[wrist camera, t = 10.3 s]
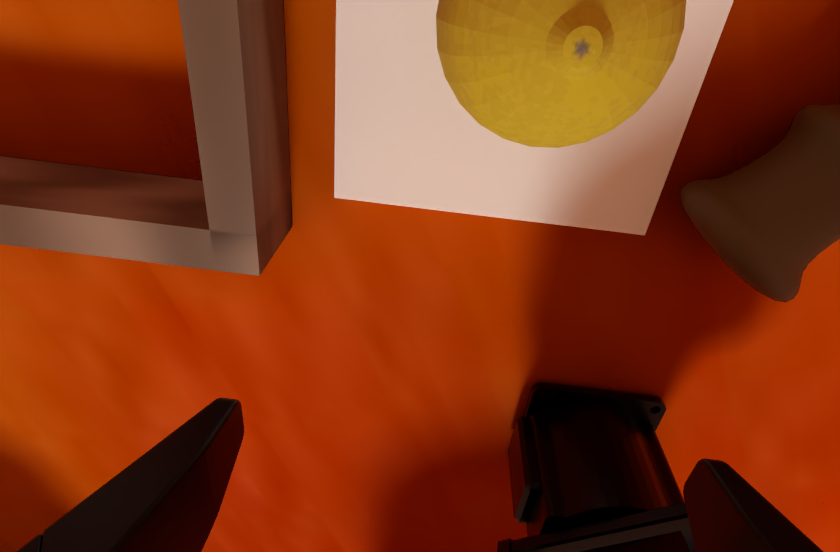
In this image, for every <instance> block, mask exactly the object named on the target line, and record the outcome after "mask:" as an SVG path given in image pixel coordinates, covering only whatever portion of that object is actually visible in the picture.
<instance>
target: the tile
mask: <svg viewBox="0 0 840 552" xmlns="http://www.w3.org/2000/svg"><path fill="white" fill-rule="evenodd" d="M733 1H734V0H686V11H685V23H684V30H683V33H682V36H681V39H680V42H679V45H678V48H677V51H676V55H675V58H674V60H673V62H672V64H671V66H670V67H669V69H668V71H667V73H666V74H665V76H664V78H663V80H662V81H661V83H660V85H659V87H658V88H657V90H656V91H655V92H654V93H653V94H652V95H651V96H650V98H649V99H648V100H647V101H646V102H645V103H644V104H643V105H642V107H641V108H640V109H639V110H638V111H637V112H636V113H635V114H633V115H632V116H631V117H629V118H628V119H627V120H625V121H624V122H623V123H621V124H620V125H619V126H617V127H616V128H615V129H613V130H612V131H609V132H607V133H605V134H603V135H601V136H598V137H596V138H594V139H592V140H590V141H588V142H585V143H580V144H575V145H570V146H565V147H561V148H550V147H529V146H526V145H523V144H519V143H516V142H512V141H509V140H506V139H503V138H501V137H500V136H498V135H496V134H495V133H493V132H491V131H490V130H488V129H486V128H485V127H483V126H481V125H480V124H479V123H478V122H477V121H476V120H475V119H474V118H473V117H472V116H471V115H470V114H469V113H468V112H467V111H466V110H465V109H464V108H463V107H462V106H461V104H460V103H459V102H458V100H457V98H456V96H455V94H454V93H453V91H452V89H451V87H450V85H449V84H448V82H447V80H446V78H445V76H444V72H443V68H442V65H441V61H440V57H439V54H438V50H437V32H436V12H437V7H438V2H439V0H336V72H335V174H334V198H341V199H350V200H358V201H366V202H374V203H382V204H391V205H399V206H407V207H415V208H424V209H432V210H440V211H448V212H457V213H465V214H473V215H481V216H489V217H498V218H506V219H514V220H522V221H531V222H539V223H547V224H555V225H563V226H572V227H580V228H588V229H596V230H605V231H613V232H621V233H629V234H638V235H645V234H646V231H647V228H648V226H649V223H650V221H651V218H652V215H653V213H654V210H655V207H656V205H657V202H658V199H659V197H660V194H661V191H662V189H663V186H664V184H665V181H666V178H667V176H668V173H669V170H670V168H671V165H672V162H673V160H674V157H675V154H676V152H677V149H678V147H679V144H680V141H681V139H682V136H683V133H684V131H685V128H686V125H687V123H688V120H689V117H690V115H691V112H692V110H693V107H694V104H695V102H696V99H697V96H698V94H699V91H700V88H701V86H702V83H703V80H704V78H705V75H706V73H707V70H708V67H709V65H710V62H711V59H712V57H713V54H714V51H715V49H716V46H717V44H718V41H719V38H720V36H721V33H722V30H723V28H724V25H725V22H726V20H727V17H728V14H729V12H730V9H731V7H732V4H733Z"/></svg>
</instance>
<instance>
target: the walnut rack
mask: <svg viewBox="0 0 840 552" xmlns="http://www.w3.org/2000/svg"><path fill="white" fill-rule="evenodd" d="M178 4H179V11H180V18H181V26H182V33H183V40H184V48H185V55H186V62H187V69H188V77H189V84H190V91H191V99H192V106H193V113H194V121H195V128H196V135H197V142H198V150H199V157H200V164H201V172H202V179H203V181H201V180H193V179H185V178H177V177H169V176H160V175H152V174H144V173H136V172H127V171H119V170H111V169H103V168H95V167H86V166H78V165H70V164H62V163H53V162H45V161H37V160H29V159H20V158H12V157H4V156H0V244H5V245H14V246H22V247H30V248H38V249H46V250H54V251H62V252H70V253H79V254H87V255H95V256H103V257H111V258H119V259H127V260H136V261H144V262H152V263H160V264H168V265H176V266H184V267H192V268H201V269H209V270H217V271H225V272H233V273H241V274H249V275H257V276H260V274H261V273H262V271H263V270H264V268H265V267H266V265H267V264H268V262H269V261H270V259H271V258H272V256H273V255H274V253H275V252H276V250H277V249H278V247H279V246H280V244H281V243H282V241H283V240H284V238H285V237H286V235H287V234H288V232H289V231H290V229H291V228H292V210H291V184H290V159H289V134H288V108H287V83H286V57H285V32H284V6H283V0H178Z"/></svg>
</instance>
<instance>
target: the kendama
mask: <svg viewBox="0 0 840 552" xmlns="http://www.w3.org/2000/svg"><path fill="white" fill-rule="evenodd" d="M680 198H681V201H682V204H683V208H684V210H685V212H686V213H687V215H688V216H689V218H690V220H691V221H692V223H693V224H694V226H695V227H696V229H697V230H698V232H699V233H700V235H701V236H702V237H703V238H704V239H705V241H706V242H707V243H708V244H709V245H710V246H711V248H712V249H713V250H714V251H715V252H716V253H717V254H718V255H719V257H720V258H721V259H722V260H723V261H724V262H725V263H726V264H727V265H728V266H729V267H730V268H731V269H732V270H733V271H734V272H735V273H736V274H737V275H738V276H739V277H741V278H742V279H743V280H744V281H745V282H746V283H748V284H749V285H750V286H752V287H753V288H754V289H755V290H757V291H759V292H760V293H762V294H763V295H765V296H767V297H769V298H771V299H773V300H775V301H781V302H787V301H789V300H792V299H794V297H795V296H796V294H797V293H798V291H799V287H800V282H801V277H802V274H803V271H804V270H805V268H806V267H807V265H808V264H809V263H810V262H811V261H812V260H813V259H814V258H815V257H816V256H817V255H818V254H819V253H820V252H822V251H823V250H824V249H826V248H827V247H828V246H830V245H831V244H832V243H834V242H835V241H837V240H838V239H840V103H839V104H835V105H818V104H810V105H806V106H805V107H804V108H802V109H801V110H799V111H798V112H797V113H796V114H795V116H794V118H793V120H792V123H791V126H790V129H789V131H788V132H787V134H786V136H785V137H784V138H783V139H782V140H781V141H780V142H779V143H778V144H777V145H776V146H775V147H773V148H772V149H771V150H769V151H768V152H767V153H765V154H764V155H762V156H761V157H759V158H757V159H756V160H754V161H753V162H751V163H749V164H748V165H746V166H744V167H742V168H740V169H739V170H737V171H735V172H732V173H730V174H728V175H726V176H723V177H720V178H716V179H708V180H694V181H691V182H688V183H686V184H685V185H684V186H683V187H682V190H681V196H680Z"/></svg>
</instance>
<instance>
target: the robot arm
mask: <svg viewBox="0 0 840 552" xmlns="http://www.w3.org/2000/svg"><path fill="white" fill-rule="evenodd" d="M541 392H545V393H543V394H539V393H541ZM654 406H656V407H654ZM665 411H666V407H665V405H664V402H663V400H662V399H661V398H659V397H656V396H648V395H640V394H632V393H624V392H615V391H607V390H599V389H591V388H583V387H575V386H567V385H559V384H551V383H537V384H535V385H534V386H533V387H532V389H531V392H530V396H529V399H528V402H527V406H526V409H525V412H524V416H520V417H519V418H518V419H517V420H516V424H515V427H514V430H513V434H512V437H511V441H510V444H509V448H508V459H509V469H510V479H511V490H512V500H513V510H514V517H515V519H516V520H517V521H518V522H519V523H526V525H527V533H528V537H526V538H521V539H517V540H511V539H506V540H502V541H499V542H498V550H497V552H823V551H822V550H821V549H820V548H819V547H818V546H817V545H815V544H814V543H813V542H812V541H811V540H810V539H809V538H808V537H807V536H806V535H805V534H803V533H802V532H801V531H800V530H799V529H798V528H797V527H796V526H795V525H794V524H793V523H791V522H790V521H789V520H788V519H787V518H786V517H785V516H784V515H783V514H782V513H781V512H779V511H778V510H777V509H776V508H775V507H774V506H773V505H772V504H771V503H770V502H769V501H767V500H766V499H765V498H764V497H763V496H762V495H761V494H760V493H759V492H758V491H757V490H755V489H754V488H753V487H752V486H751V485H750V484H749V483H748V482H747V481H746V480H745V479H743V478H742V477H741V476H740V475H739V474H738V473H737V472H736V471H735V470H734V469H732V468H731V467H730V466H729V465H728V464H727V463H725V462H723V461H719V460H712V459H701V460H700V461H698V463H697V464H696V466H695V468H694V469H693V471H692V473H691V474H690V476H689V477H688V479H687V481H686V482H685V485H684V490H683V494H684V499H683V497H682V494H681V492H680V490H679V487H678V485H677V482H676V480H675V478H674V475H673V473H672V471H671V468H670V466H669V463H668V461H667V459H666V456H665V454H664V452H663V449H662V447H661V444H660V442H659V440H658V437H657V435H656V433H655V431H656V429H657V427H658V425H659V423H660V421H661V419H662V417H663V415H664V413H665ZM243 436H244V423H243V415H242V407H241V403H240V401H239V400H236V399H228V398H218V399H216V400H214V401H213V402H212V403H210V404H209V405H208V406H206V407H205V408H204V409H203V410H201V411H200V412H199V413H197V414H196V415H195V416H193V417H192V418H191V419H189V420H188V421H187V422H186V423H184V424H183V425H182V426H180V427H179V428H178V429H176V430H175V431H174V432H172V433H171V434H170V435H169V436H167V437H166V438H165V439H163V440H162V441H161V442H159V443H158V444H157V445H155V446H154V447H153V448H152V449H150V450H149V451H148V452H146V453H145V454H144V455H142V456H141V457H140V458H138V459H137V460H136V461H134V462H133V463H132V464H131V465H129V466H128V467H127V468H125V469H124V470H123V471H121V472H120V473H119V474H117V475H116V476H115V477H114V478H112V479H111V480H110V481H108V482H107V483H106V484H104V485H103V486H102V487H100V488H99V489H98V490H97V491H95V492H94V493H93V494H91V495H90V496H89V497H87V498H86V499H85V500H83V501H82V502H81V503H80V504H78V505H77V506H76V507H74V508H73V509H72V510H70V511H69V512H68V513H66V514H65V515H64V516H63V517H61V518H60V519H59V520H57V521H56V522H55V523H53V524H52V525H51V526H49V527H48V528H47V529H45V530H44V532H43V535H37V536H36V537H35V538H33V539H32V540H31V541H30V542H28V543H27V544H26V545H24V546H23V547H22V548H20V549H19V550H18V551H16V552H201V551H202V549H203V547H204V545H205V542H206V540H207V538H208V536H209V534H210V531H211V529H212V527H213V525H214V522H215V520H216V517H217V515H218V512H219V509H220V506H221V504H222V501H223V498H224V495H225V492H226V489H227V486H228V483H229V479H230V476H231V473H232V470H233V467H234V464H235V461H236V458H237V455H238V452H239V449H240V446H241V443H242V440H243Z"/></svg>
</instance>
